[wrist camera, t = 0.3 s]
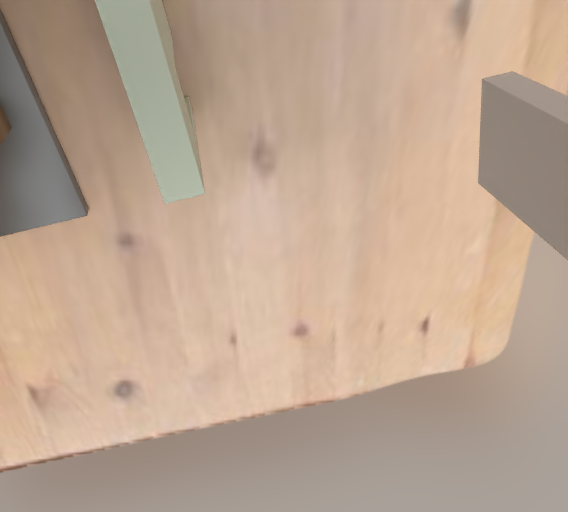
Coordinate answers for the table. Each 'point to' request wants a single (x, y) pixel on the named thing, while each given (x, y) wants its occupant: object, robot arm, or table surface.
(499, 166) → the robot arm
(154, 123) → the sage plate
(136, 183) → the table surface
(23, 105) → the wood panel stand
